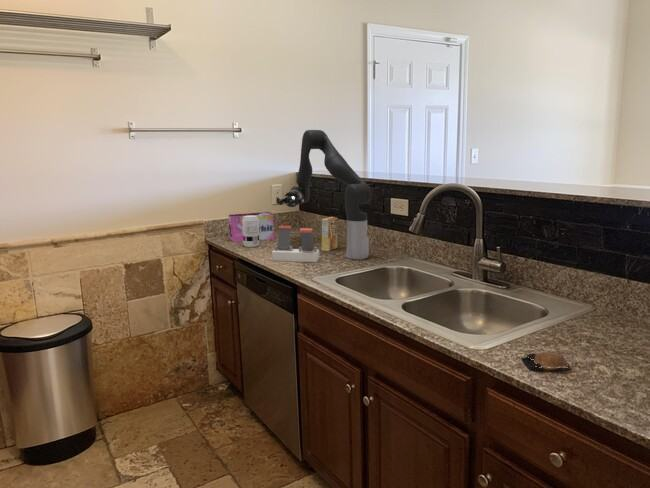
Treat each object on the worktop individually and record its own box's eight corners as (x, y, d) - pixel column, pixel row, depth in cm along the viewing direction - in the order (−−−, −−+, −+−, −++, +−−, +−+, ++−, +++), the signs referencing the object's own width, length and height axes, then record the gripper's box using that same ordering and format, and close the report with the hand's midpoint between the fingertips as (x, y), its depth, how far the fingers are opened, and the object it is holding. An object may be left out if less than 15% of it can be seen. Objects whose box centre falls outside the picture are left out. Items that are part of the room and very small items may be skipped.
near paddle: (314, 249, 220) (312, 228, 215) (313, 251, 219) (311, 230, 213) (302, 249, 221) (300, 228, 215) (301, 251, 220) (300, 230, 214)
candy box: (330, 247, 247) (330, 216, 244) (337, 247, 245) (337, 217, 242) (321, 250, 239) (321, 219, 236) (328, 251, 237) (329, 219, 234)
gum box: (230, 242, 258) (229, 216, 255) (227, 239, 265) (225, 214, 262) (274, 238, 268) (273, 213, 265) (269, 236, 275) (268, 211, 272)
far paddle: (289, 250, 222) (290, 226, 223) (288, 249, 220) (290, 225, 221) (278, 250, 222) (279, 226, 224) (277, 249, 221) (278, 225, 222)
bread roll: (560, 360, 123) (562, 346, 122) (577, 375, 115) (579, 360, 114) (517, 359, 123) (519, 345, 122) (531, 375, 115) (533, 360, 114)
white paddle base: (319, 258, 223) (319, 245, 222) (316, 262, 217) (316, 249, 215) (275, 257, 226) (275, 244, 225) (272, 260, 219) (271, 247, 218)
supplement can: (239, 246, 248) (238, 216, 245) (249, 243, 255) (248, 214, 252) (253, 248, 245) (252, 218, 241) (262, 245, 252) (261, 215, 249)
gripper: (278, 190, 244) (270, 194, 227) (307, 190, 242) (300, 194, 225) (279, 205, 246) (270, 210, 229) (307, 206, 244) (301, 211, 227)
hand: (285, 202), depth 227 cm, fingers open, 4 cm apart
